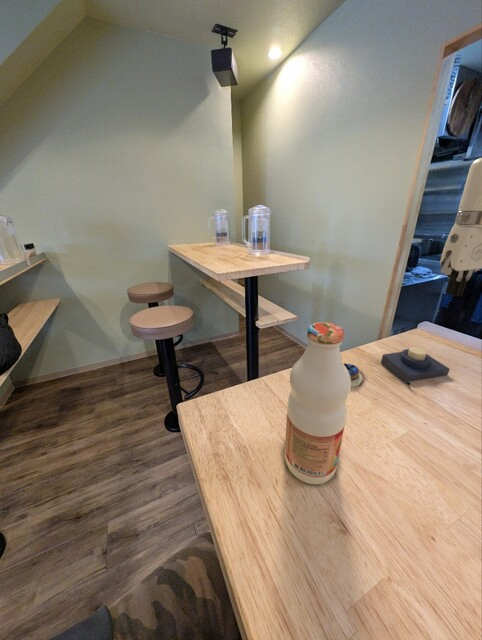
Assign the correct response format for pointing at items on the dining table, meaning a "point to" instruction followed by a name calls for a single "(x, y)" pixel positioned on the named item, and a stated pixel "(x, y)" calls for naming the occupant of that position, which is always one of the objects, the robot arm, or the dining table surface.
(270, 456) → the dining table surface
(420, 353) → the push cap
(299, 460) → the fruit juice
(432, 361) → the push cap base
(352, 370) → the dessert
